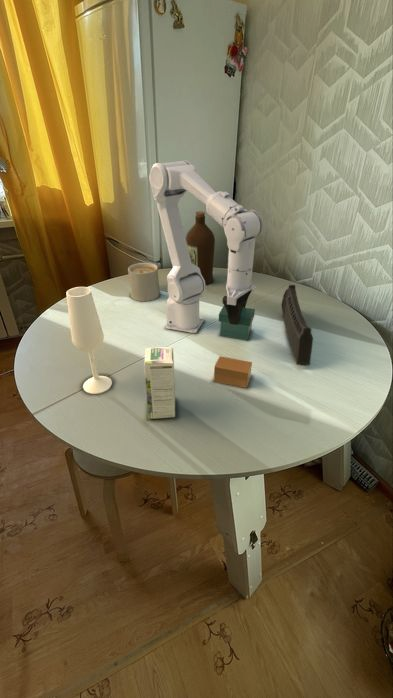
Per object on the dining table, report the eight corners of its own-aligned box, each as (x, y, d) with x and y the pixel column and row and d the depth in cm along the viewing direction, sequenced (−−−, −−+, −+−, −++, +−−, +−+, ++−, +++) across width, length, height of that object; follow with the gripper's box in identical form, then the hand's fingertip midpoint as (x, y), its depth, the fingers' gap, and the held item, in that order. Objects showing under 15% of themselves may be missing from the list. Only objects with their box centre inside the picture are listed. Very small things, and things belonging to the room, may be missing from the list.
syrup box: (149, 401, 79) (143, 347, 71) (175, 399, 79) (173, 346, 71) (148, 419, 74) (142, 364, 66) (176, 417, 75) (173, 362, 66)
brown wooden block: (213, 381, 85) (214, 374, 83) (218, 370, 88) (219, 363, 87) (246, 388, 83) (247, 380, 81) (250, 376, 86) (251, 369, 85)
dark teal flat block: (218, 321, 88) (218, 313, 87) (224, 311, 93) (224, 304, 91) (249, 326, 86) (250, 318, 85) (254, 316, 90) (255, 308, 89)
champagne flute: (87, 375, 87) (67, 284, 73) (114, 375, 87) (99, 285, 73) (79, 393, 81) (55, 298, 68) (108, 394, 81) (90, 299, 68)
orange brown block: (214, 374, 83) (214, 366, 82) (219, 363, 87) (219, 356, 86) (247, 380, 81) (248, 373, 80) (251, 369, 85) (252, 362, 84)
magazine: (317, 344, 81) (301, 264, 100) (303, 344, 82) (290, 263, 100) (302, 385, 95) (290, 307, 114) (290, 385, 95) (280, 307, 114)
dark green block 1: (220, 329, 101) (220, 322, 99) (225, 320, 105) (225, 313, 104) (248, 333, 99) (248, 327, 97) (251, 324, 103) (252, 317, 102)
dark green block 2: (220, 335, 102) (220, 329, 101) (224, 326, 106) (225, 320, 105) (247, 340, 100) (248, 333, 99) (251, 331, 104) (251, 324, 103)
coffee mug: (159, 300, 121) (157, 272, 115) (130, 302, 120) (127, 274, 115) (159, 284, 132) (157, 258, 126) (132, 286, 131) (129, 259, 126)
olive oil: (203, 272, 142) (203, 207, 128) (219, 281, 134) (221, 213, 120) (180, 279, 137) (178, 211, 123) (196, 288, 129) (196, 217, 115)
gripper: (251, 281, 75) (246, 335, 83) (262, 258, 86) (257, 308, 94) (219, 276, 77) (217, 330, 84) (234, 255, 88) (231, 304, 96)
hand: (236, 318), depth 89 cm, fingers closed on dark teal flat block, 5 cm apart
